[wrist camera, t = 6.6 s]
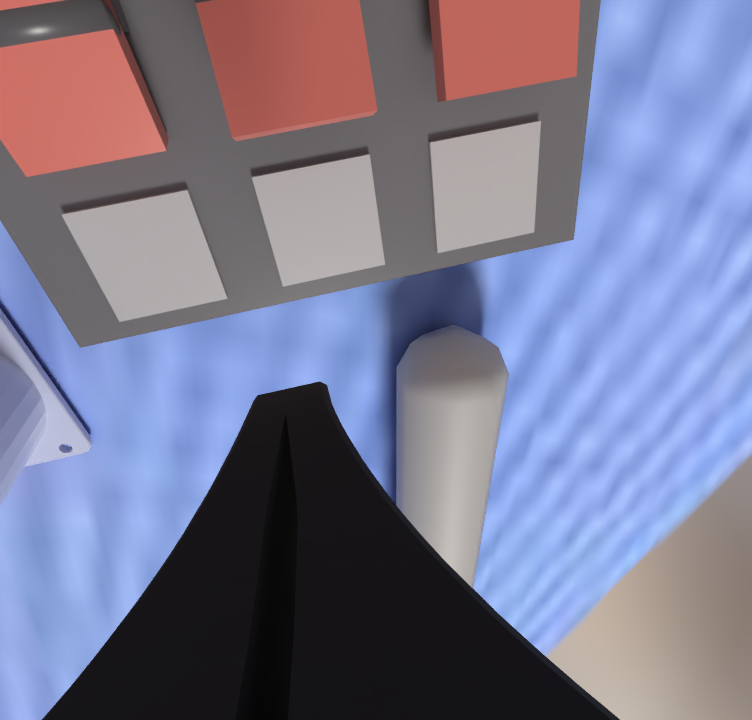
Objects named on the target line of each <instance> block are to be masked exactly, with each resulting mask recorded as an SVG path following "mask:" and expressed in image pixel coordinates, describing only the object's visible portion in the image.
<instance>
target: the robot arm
mask: <svg viewBox="0 0 752 720" xmlns="http://www.w3.org/2000/svg"><path fill="white" fill-rule="evenodd" d="M92 442H93V441H92V438H91V436H90V435H89V434H88V432H87V431H86V429H85V428H84V426H83V425H82V424H81V422H80V421H79V419H78V418H77V417H76V415H75V414H74V412H73V411H72V409H71V408H70V407H69V405H68V404H67V402H66V401H65V400H64V398H63V397H62V395H61V394H60V392H59V391H58V390H57V388H56V387H55V385H54V384H53V382H52V381H51V380H50V378H49V377H48V375H47V374H46V373H45V371H44V370H43V368H42V367H41V365H40V364H39V363H38V361H37V360H36V358H35V357H34V355H33V354H32V353H31V351H30V350H29V348H28V347H27V346H26V344H25V343H24V341H23V340H22V338H21V337H20V336H19V334H18V333H17V331H16V330H15V328H14V327H13V326H12V324H11V323H10V321H9V320H8V319H7V317H6V316H5V314H4V313H3V311H2V310H1V309H0V507H1V505H2V504H3V502H4V500H5V499H6V497H7V495H8V493H9V492H10V490H11V488H12V487H13V485H14V483H15V482H16V480H17V478H18V477H19V475H20V473H21V471H22V470H23V468H24V467H26V466H30V465H35V464H39V463H43V462H47V461H52V460H56V459H60V458H64V457H68V456H73V455H77V454H81V453H84V452H87V451H88V450H89V449H90V447H91V445H92ZM63 444H67V445H70V446H71V447H68V446H65V445H63ZM42 720H619V719H618V718H617V717H616V716H615V715H614V714H612V713H611V712H610V711H609V710H608V709H607V708H605V707H604V706H603V705H602V704H601V703H599V702H598V701H597V700H596V699H595V698H593V697H592V696H591V695H590V694H589V693H587V692H586V691H585V690H584V689H583V688H581V687H580V686H579V685H578V684H577V683H575V682H574V681H573V680H572V679H571V678H570V677H569V676H567V675H566V674H565V673H564V672H563V671H562V670H560V669H559V668H558V667H557V666H556V665H555V664H554V663H552V662H551V661H550V660H549V659H548V658H547V657H545V656H544V655H543V654H542V653H541V652H540V651H539V650H538V649H536V648H535V647H534V646H533V645H532V644H531V643H530V642H529V641H528V640H527V639H525V638H524V637H523V636H522V635H521V634H520V633H519V632H518V631H517V630H516V629H514V628H513V627H512V626H511V625H510V624H509V623H508V622H507V621H506V620H505V619H504V618H502V617H501V616H500V615H499V614H498V613H497V612H496V611H495V610H494V609H493V608H492V607H491V606H490V605H489V604H488V603H487V602H486V601H485V600H484V599H483V598H482V597H481V596H480V595H479V594H478V593H477V592H476V591H475V590H474V589H473V588H472V587H471V586H470V585H469V584H468V583H467V582H466V581H465V580H464V579H463V578H462V577H461V576H460V575H459V574H458V573H457V572H456V571H455V570H454V569H453V568H452V567H451V566H450V565H449V564H448V563H447V562H446V561H445V560H444V559H443V558H442V557H441V556H440V555H439V554H438V553H437V552H436V550H435V549H434V548H433V547H432V546H431V545H430V544H429V543H428V542H427V541H426V540H425V538H424V537H423V536H422V535H421V534H420V533H419V532H418V531H417V529H416V528H415V527H414V526H413V525H412V524H411V522H410V521H409V520H408V519H407V518H406V516H405V515H404V514H403V513H402V512H401V510H400V509H399V508H398V507H397V506H396V504H395V503H394V502H393V501H392V499H391V498H390V497H389V495H388V494H387V493H386V492H385V490H384V489H383V487H382V486H381V485H380V483H379V482H378V481H377V479H376V478H375V477H374V475H373V474H372V472H371V471H370V470H369V468H368V467H367V465H366V464H365V462H364V461H363V459H362V458H361V456H360V455H359V453H358V451H357V450H356V448H355V447H354V445H353V443H352V442H351V440H350V439H349V437H348V435H347V434H346V432H345V430H344V428H343V426H342V425H341V423H340V421H339V418H338V416H337V414H336V412H335V410H334V408H333V406H332V403H331V399H330V395H329V391H328V387H327V385H326V384H324V383H322V382H316V383H311V384H307V385H302V386H298V387H293V388H289V389H284V390H280V391H275V392H271V393H266V394H262V395H258V396H257V397H256V398H255V400H254V401H253V403H252V406H251V408H250V410H249V412H248V414H247V417H246V419H245V421H244V423H243V425H242V427H241V430H240V432H239V434H238V436H237V438H236V440H235V442H234V444H233V446H232V448H231V450H230V452H229V454H228V456H227V458H226V460H225V462H224V463H223V465H222V467H221V469H220V471H219V473H218V475H217V477H216V479H215V480H214V482H213V484H212V486H211V488H210V490H209V491H208V493H207V495H206V497H205V498H204V500H203V502H202V503H201V505H200V507H199V508H198V510H197V512H196V513H195V515H194V517H193V518H192V520H191V522H190V523H189V525H188V527H187V528H186V530H185V532H184V533H183V535H182V536H181V538H180V540H179V541H178V543H177V544H176V546H175V547H174V549H173V550H172V552H171V553H170V555H169V557H168V558H167V559H166V561H165V562H164V564H163V565H162V567H161V568H160V570H159V571H158V573H157V574H156V576H155V577H154V578H153V580H152V581H151V583H150V584H149V586H148V587H147V588H146V590H145V591H144V593H143V594H142V595H141V597H140V598H139V600H138V601H137V602H136V604H135V605H134V606H133V608H132V609H131V610H130V612H129V613H128V614H127V616H126V617H125V618H124V619H123V621H122V622H121V623H120V625H119V626H118V627H117V629H116V630H115V631H114V633H113V634H112V635H111V637H110V638H109V639H108V640H107V642H106V643H105V644H104V646H103V647H102V648H101V650H100V651H99V652H98V653H97V655H96V656H95V657H94V658H93V660H92V661H91V662H90V663H89V665H88V666H87V667H86V668H85V670H84V671H83V672H82V673H81V675H80V676H79V677H78V678H77V679H76V681H75V682H74V683H73V684H72V686H71V687H70V688H69V689H68V690H67V691H66V693H65V694H64V695H63V696H62V697H61V698H60V700H59V701H58V702H57V703H56V704H55V705H54V706H53V708H52V709H51V710H50V711H49V712H48V713H47V715H46V716H45V717H44V718H43V719H42Z"/></svg>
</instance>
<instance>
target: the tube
mask: <svg viewBox="0 0 752 720" xmlns="http://www.w3.org/2000/svg"><path fill="white" fill-rule="evenodd" d="M508 375H509V373H508V370H507V368H506V365H505V363H504V360H503V358H502V355H501V353H500V350H499V348H498V347H497V346H496V345H494V344H493V343H491V342H490V341H489V340H487V339H486V338H484V337H482V336H480V335H478V334H475V333H473V332H471V331H468V330H466V329H464V328H461V327H459V326H457V325H455V324H452V325H449V326H446V327H443V328H440V329H437V330H435V331H432V332H429V333H426V334H423V335H421V336H420V337H419V338H417V339H416V340H414V341H413V342H411V343H410V345H409V347H408V349H407V350H406V352H405V354H404V355H403V357H402V359H401V361H400V362H399V364H398V366H397V386H396V506H397V507H398V508H399V509H400V510H401V512H402V513H403V514H404V515H405V516H406V518H407V519H408V520H409V521H410V522H411V524H412V525H413V526H414V527H415V528H416V529H417V531H418V532H419V533H420V534H421V535H422V536H423V537H424V538H425V540H426V541H427V542H428V543H429V544H430V545H431V546H432V547H433V548H434V549H435V550H436V552H437V553H438V554H439V555H440V556H441V557H442V558H443V559H444V560H445V561H446V562H447V563H448V564H449V565H450V566H451V567H452V568H453V569H454V570H455V571H456V572H457V573H458V574H459V575H460V576H461V577H462V578H463V579H464V580H465V581H466V582H467V583H468V584H469V585H470V586H471V587H472V588H473V585H474V579H475V573H476V567H477V561H478V555H479V549H480V543H481V537H482V531H483V525H484V519H485V513H486V507H487V501H488V495H489V489H490V483H491V477H492V471H493V465H494V459H495V453H496V447H497V441H498V435H499V429H500V423H501V417H502V411H503V405H504V399H505V393H506V387H507V381H508Z"/></svg>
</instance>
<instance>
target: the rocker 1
mask: <svg viewBox="0 0 752 720" xmlns="http://www.w3.org/2000/svg"><path fill="white" fill-rule="evenodd" d="M0 140H1V141H2V143H3V144H4V146H5V147H6V148H7V150H8V151H9V153H10V154H11V156H12V157H13V158H14V160H15V161H16V163H17V164H18V166H19V167H20V168H21V170H22V171H23V173H24V174H25V176H26V177H30V176H35V175H40V174H46V173H51V172H56V171H62V170H67V169H72V168H78V167H83V166H88V165H94V164H99V163H104V162H110V161H115V160H120V159H125V158H131V157H136V156H141V155H147V154H152V153H157V152H163V151H167V145H168V140H169V138H168V135H167V133H166V131H165V128H164V126H163V124H162V121H161V119H160V117H159V114H158V112H157V110H156V107H155V105H154V103H153V100H152V98H151V95H150V93H149V91H148V88H147V86H146V84H145V81H144V79H143V77H142V74H141V72H140V70H139V67H138V65H137V63H136V60H135V58H134V55H133V53H132V51H131V48H130V46H129V44H128V41H127V39H126V37H125V34H124V32H123V30H122V27H121V25H120V23H119V20H118V17H117V14H116V11H115V9H114V6H113V4H112V1H111V0H0Z"/></svg>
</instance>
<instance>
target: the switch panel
mask: <svg viewBox="0 0 752 720" xmlns="http://www.w3.org/2000/svg"><path fill="white" fill-rule="evenodd" d="M111 1H112V4H113V6H114V9H115V11H116V14H117V17H118V20H119V23H120V25H121V27H122V30H123V32H124V34H125V37H126V39H127V41H128V44H129V46H130V48H131V51H132V53H133V55H134V58H135V60H136V63H137V65H138V67H139V70H140V72H141V74H142V77H143V79H144V81H145V84H146V86H147V88H148V91H149V93H150V95H151V98H152V100H153V103H154V105H155V107H156V110H157V112H158V114H159V117H160V119H161V121H162V124H163V126H164V128H165V131H166V133H167V135H168V138H169V140H168V145H167V151H163V152H157V153H152V154H147V155H141V156H136V157H131V158H125V159H120V160H115V161H110V162H104V163H99V164H94V165H88V166H83V167H78V168H72V169H67V170H62V171H56V172H51V173H46V174H40V175H35V176H30V177H26V176H25V174H24V173H23V171H22V170H21V168H20V167H19V166H18V164H17V163H16V161H15V160H14V158H13V157H12V156H11V154H10V153H9V151H8V150H7V148H6V147H5V146H4V144H3V143H2V141H1V140H0V220H1V222H2V223H3V225H4V227H5V228H6V230H7V231H8V233H9V235H10V236H11V238H12V239H13V241H14V243H15V244H16V246H17V247H18V249H19V251H20V252H21V254H22V255H23V257H24V259H25V260H26V262H27V263H28V265H29V267H30V268H31V270H32V272H33V273H34V275H35V276H36V278H37V280H38V281H39V283H40V284H41V286H42V288H43V289H44V291H45V292H46V294H47V296H48V297H49V299H50V300H51V302H52V304H53V305H54V307H55V308H56V310H57V312H58V313H59V315H60V316H61V318H62V320H63V321H64V323H65V324H66V326H67V328H68V329H69V331H70V332H71V334H72V336H73V337H74V339H75V340H76V342H77V344H78V345H79V347H80V348H81V347H85V346H90V345H94V344H99V343H103V342H108V341H113V340H117V339H122V338H126V337H131V336H135V335H140V334H145V333H149V332H154V331H158V330H163V329H167V328H172V327H176V326H181V325H186V324H190V323H195V322H199V321H204V320H208V319H213V318H218V317H222V316H227V315H231V314H236V313H240V312H245V311H250V310H254V309H259V308H263V307H268V306H272V305H277V304H282V303H286V302H291V301H295V300H300V299H304V298H309V297H313V296H318V295H323V294H327V293H332V292H336V291H341V290H345V289H350V288H355V287H359V286H364V285H368V284H373V283H377V282H382V281H387V280H391V279H396V278H400V277H405V276H409V275H414V274H418V273H423V272H428V271H432V270H437V269H441V268H446V267H450V266H455V265H460V264H464V263H469V262H473V261H478V260H482V259H487V258H492V257H496V256H501V255H505V254H510V253H514V252H519V251H524V250H528V249H533V248H537V247H542V246H546V245H551V244H555V243H560V242H565V241H569V240H574V231H575V222H576V214H577V205H578V196H579V187H580V178H581V169H582V160H583V151H584V142H585V134H586V125H587V116H588V107H589V98H590V89H591V80H592V71H593V63H594V54H595V45H596V36H597V27H598V18H599V9H600V0H580V13H579V34H578V56H577V76H575V77H570V78H565V79H559V80H554V81H549V82H544V83H538V84H533V85H528V86H522V87H517V88H512V89H506V90H501V91H496V92H491V93H485V94H480V95H475V96H469V97H464V98H459V99H453V100H448V101H440V102H437V93H436V81H435V69H434V57H433V45H432V33H431V21H430V9H429V0H359V1H360V7H361V13H362V19H363V25H364V31H365V37H366V43H367V50H368V56H369V62H370V68H371V74H372V80H373V86H374V92H375V98H376V104H377V111H376V112H375V114H374V115H373V116H368V117H362V118H357V119H352V120H346V121H341V122H336V123H331V124H325V125H320V126H315V127H309V128H304V129H299V130H293V131H288V132H283V133H278V134H272V135H267V136H262V137H256V138H251V139H246V140H241V141H235V140H234V139H233V138H232V136H231V132H230V128H229V125H228V121H227V117H226V114H225V110H224V106H223V103H222V99H221V95H220V91H219V88H218V84H217V80H216V77H215V73H214V69H213V66H212V62H211V58H210V55H209V51H208V47H207V44H206V40H205V36H204V33H203V29H202V25H201V22H200V18H199V14H198V11H197V7H196V3H195V0H111Z"/></svg>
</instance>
